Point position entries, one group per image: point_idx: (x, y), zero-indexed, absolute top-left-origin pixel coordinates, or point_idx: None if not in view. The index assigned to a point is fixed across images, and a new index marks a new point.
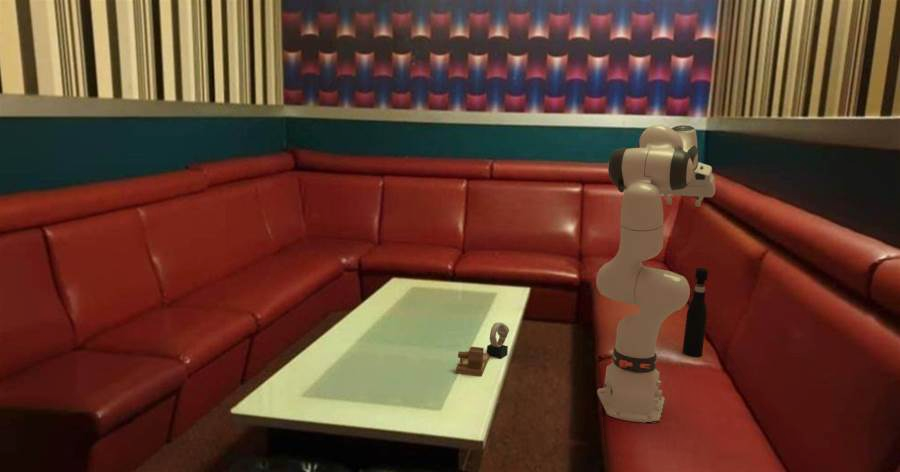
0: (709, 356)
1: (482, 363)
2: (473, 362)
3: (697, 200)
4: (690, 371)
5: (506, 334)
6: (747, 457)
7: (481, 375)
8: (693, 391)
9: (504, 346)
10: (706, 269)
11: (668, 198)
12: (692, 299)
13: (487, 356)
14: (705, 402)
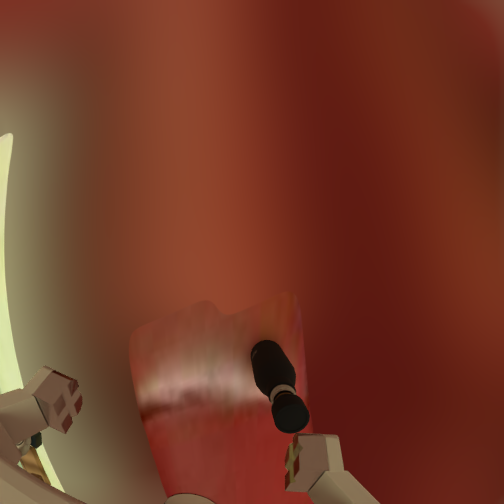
0: (293, 356)
1: (41, 478)
2: None
3: (310, 475)
4: (261, 428)
5: (25, 439)
6: None
7: (50, 484)
8: (262, 481)
9: (33, 438)
10: (305, 411)
11: (32, 422)
12: (265, 389)
13: (33, 456)
14: (274, 498)
